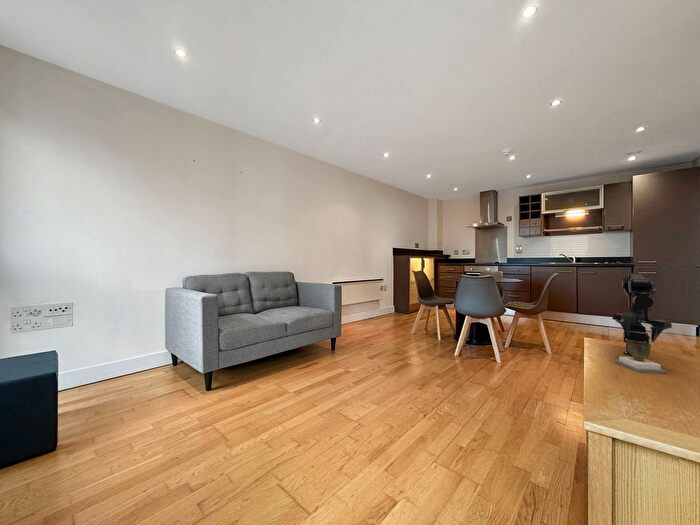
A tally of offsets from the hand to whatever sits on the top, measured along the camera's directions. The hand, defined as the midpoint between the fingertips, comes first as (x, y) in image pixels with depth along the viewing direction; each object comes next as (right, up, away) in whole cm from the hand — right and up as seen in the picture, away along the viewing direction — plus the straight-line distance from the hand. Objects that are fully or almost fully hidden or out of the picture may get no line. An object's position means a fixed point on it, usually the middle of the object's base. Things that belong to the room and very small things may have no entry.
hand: (639, 338), depth 126 cm
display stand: (-6, -11, -5) cm, 14 cm away
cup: (-6, -8, -5) cm, 11 cm away
